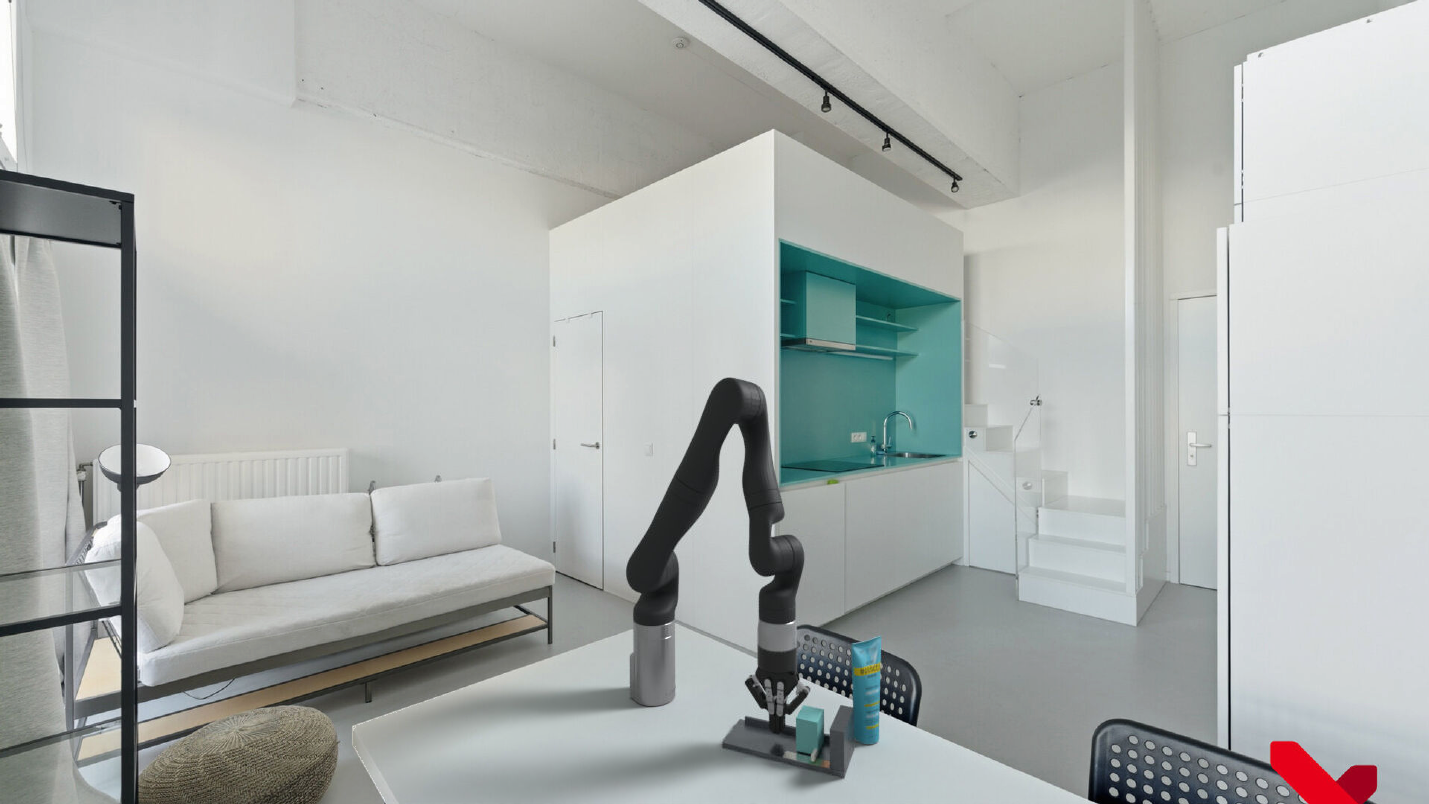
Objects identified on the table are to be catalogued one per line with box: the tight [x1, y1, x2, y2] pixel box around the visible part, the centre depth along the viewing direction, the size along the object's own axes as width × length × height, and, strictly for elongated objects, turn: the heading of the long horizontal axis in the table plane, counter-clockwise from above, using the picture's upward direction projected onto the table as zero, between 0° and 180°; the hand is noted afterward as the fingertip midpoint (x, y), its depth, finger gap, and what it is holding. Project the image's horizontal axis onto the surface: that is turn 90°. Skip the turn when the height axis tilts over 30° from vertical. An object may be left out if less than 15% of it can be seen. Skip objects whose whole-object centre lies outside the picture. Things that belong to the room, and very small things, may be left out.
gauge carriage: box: [795, 704, 825, 762], centre depth 110 cm, size 4×7×6 cm, turn 156°
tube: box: [850, 635, 882, 745], centre depth 116 cm, size 7×5×19 cm, turn 123°
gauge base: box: [721, 704, 855, 779], centre depth 112 cm, size 23×9×8 cm, turn 66°
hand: (777, 731), depth 114 cm, fingers closed
